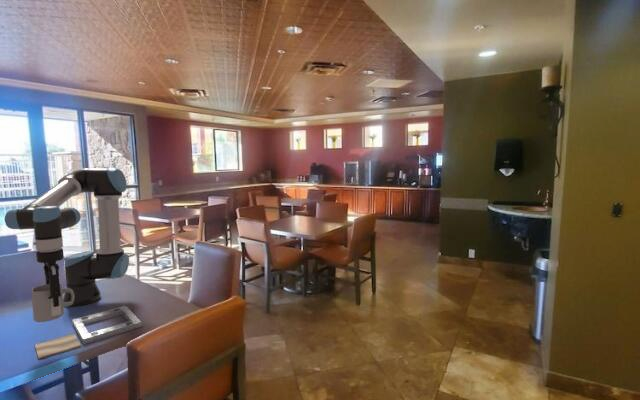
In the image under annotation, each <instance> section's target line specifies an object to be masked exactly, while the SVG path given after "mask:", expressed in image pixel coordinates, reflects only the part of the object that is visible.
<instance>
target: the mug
mask: <svg viewBox="0 0 640 400" xmlns="http://www.w3.org/2000/svg"><path fill="white" fill-rule="evenodd" d="M66 292H69V293H70V294H71V301H69V302H63V297H64V296H63V294H65V293H66ZM60 293H61V296H60V300H61V313H62V314H59V315H55V316H52V314H51V302H50V299H48V297H50V296H51V294H50V286H49V284H46V283H45V284H42V285H39V286H35V287H34V288H32V289H31V302H32V303H31V304H32V318H33V321H34V322H35V323H47V322H50V321H54V320H57V319H59V318H61V317H62V316H63V315H64V314H65V310H64V308H66V307H71V306H70V305H72V304H73V302H74V298H75V297H74V292H73V290H72V289H70V288H66V287H64V288H63V286H62V284H61V283H60ZM56 294H57V293H56Z"/></svg>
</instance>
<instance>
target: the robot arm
mask: <svg viewBox="0 0 640 400" xmlns="http://www.w3.org/2000/svg"><path fill="white" fill-rule="evenodd" d="M127 185H128V184H127V179H126V176H125V174H124V172H123V171H122V170H121V169H119V168H114V167H113V168H111V167H105V168H104V167H97V168H95V167H94V168H93V167H92V168H90V167H88V168H87V167H85V168H80V169H78V170H73V171H72V172H70V173H68V174H66V175H64V176H62V177H61V178H60V179H59V180H58V182H57V184H55V185H54V186H52V187H51V188H50V189H48V190H47V191H45V192H44V193H42V194H41V195H40V196H38V197H37V198H35V199H34V200H33V201H32V202H30V203H28V204H27V205H26V206H25V207H23V208H16V209H15V208H14V209H10V210H8V211H7V212H6V213H5V215H4V223H5V225H6V227H7V228H8V229H10V230H20V231H22V230H34V239H35V240H34V241H33V243H32V245H33V246H35V250H36V251H37V252H36V253H35V255H36V262H37V263H41V264H43V271H44V276H45V285H46V284H49V286H50V294H51V296H50V297H48V299H50V302H51V314H52V316H55V315H59V314H62V313H61V300H60V296H61V293H60V284H61V283H60V272H59V271H60V270H59V269H60V265H59V264H58V263H57V262H58V261H62V260H63V259H64V249H63V247H64V243H63V242H64V240H63V234H62V233H63V231H62V230H64V229H67V228H72V227H73V226H74V227H75V226H76V225H78V224H79V223H80V221H81V217H82V216H81V215H82V214H81V213H80V211H79V210H78V209H77V208H74V207H72V206H71V207H64V208H63V207H62V208H60V207H61V206H62V205H64V204H65V202H67V201H68V200H70V199H71V198H72V197H75V196H78V195H79V194H83V193H93V197H94V198H96V200H97V212H98V213H97V214H98V239H99V249H98V250H97V251H96V252H95V253H94V252H93V251H84V252H79V253H75V254H72V255H69V256H67V257H66V258H65V259H64V270H65V271H64V274H65V282H66V283H65V286H66V287H65V288H70V289H72V290H73V292H74V297H75V298H74V302H73V304H72V305H70V306H69V307H79V306H84V305H89V304H92V303H94V302H97V301H98V300H100V299H101V298H102V297H101V294H102V293H101V291H100V289H99V287H98V285H97V283H96V282H97V281H96V280H104V279H106V280H107V279H109V280H110V279H111V280H114V279H120V278H123V277H124V276H125V275H126V273H127V271H128V268H129V265H130V257H129V255H128V254H127V253H125V250H124V249H123V248H122V247H121V232H120V208H119V207H120V203H119V199H120V198H121V197H122V196H123V193H124V192H126V190H127V187H128V186H127ZM56 293H57V294H56ZM63 294H64V295H63V296H62V297H63V302H69V301H71V294H70V293H69V292H66V293H63Z"/></svg>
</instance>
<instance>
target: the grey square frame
mask: <svg viewBox="0 0 640 400" xmlns="http://www.w3.org/2000/svg"><path fill="white" fill-rule="evenodd" d="M121 315H122V316H123V317H124V318H125V319H126V320H127V321H126V322H123V323H118V324H116V325H111V326H108V327H105V328H101V329H98V330H95V331H92V332H89V331H88V329H87V328H86V325H90V324H92V323H96V322H99V321H103V320H107V319H112V318H115V317H118V316H121ZM71 322H72V326H73V328H74V329H75V332H76V333H77V335H78V337H79V339H80V340H81V342H82V344H83V345H85V344H90V343H92V342H96V341H100V340H103V339H105V338H109V337H112V336H115V335H118V334H121V333H122V334H123V333H125V332H128V331H131V330H135V329H138V328H141V327H142V325H143V324H142V321H141V320H140V319H139V318H138V317H137V315H135V313H133V312H132V310H131V309H130V308H128V307H127V306H126V305H123V306H119V307H116V308H112V309H107V310H104V311H101V312H97V313H94V314H89V315H85V316H82V317H77V318H73V319H72V321H71Z"/></svg>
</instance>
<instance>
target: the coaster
mask: <svg viewBox="0 0 640 400" xmlns="http://www.w3.org/2000/svg"><path fill="white" fill-rule="evenodd" d="M81 346H82V344H81V343H80V340H79V338H77V335H76V334H75V333H74V332H73V333H71V334H68V335H64V336H60V337H56V338H52V339H50V340H46V341H43V342H39V343H36V344H34V348H35V350H36V355H37V358H38V360H42V359H44V358H49V357H51V356H52V357H53V356H55V355H58V354H61V353H65V352H67V351H71V350H75V349H77V348H80V347H81Z"/></svg>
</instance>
